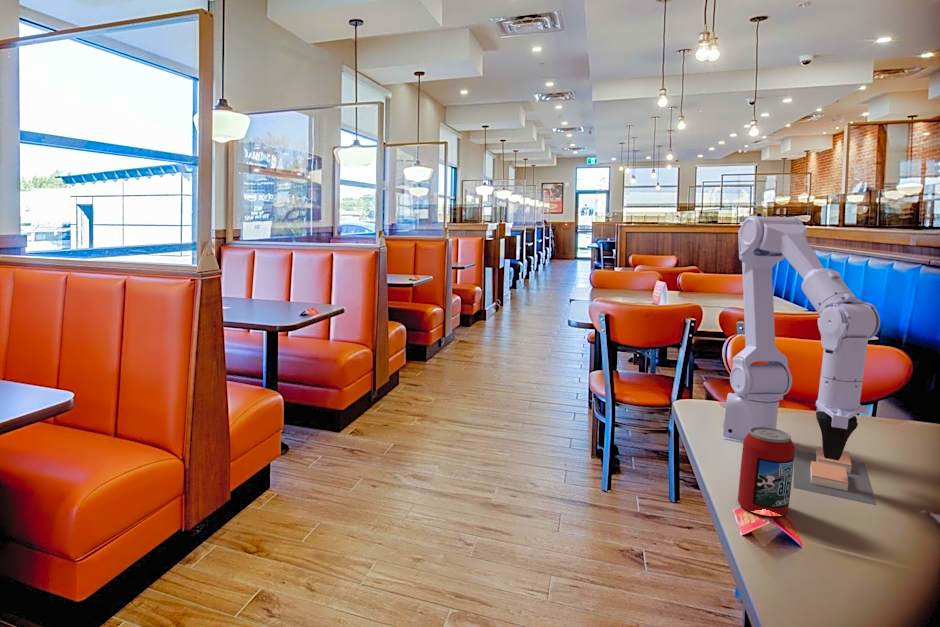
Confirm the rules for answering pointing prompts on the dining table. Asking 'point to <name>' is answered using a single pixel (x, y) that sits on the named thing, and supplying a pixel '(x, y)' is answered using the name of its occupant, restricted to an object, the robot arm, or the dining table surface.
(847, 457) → the flat tile
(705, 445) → the dining table surface
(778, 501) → the beverage can
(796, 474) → the placemat
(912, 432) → the dining table surface
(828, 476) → the tile
